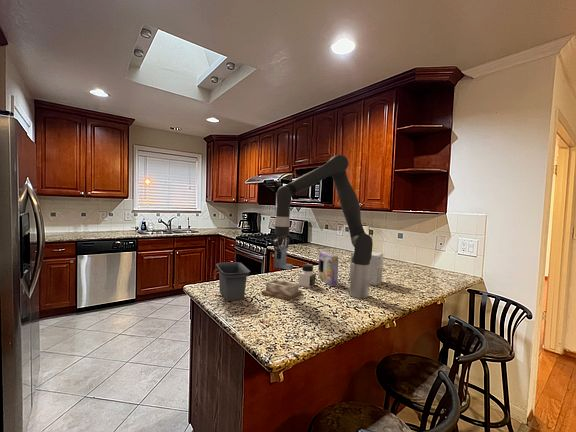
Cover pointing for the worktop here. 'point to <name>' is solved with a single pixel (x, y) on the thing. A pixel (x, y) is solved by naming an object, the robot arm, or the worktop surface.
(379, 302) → the worktop surface
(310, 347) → the worktop surface
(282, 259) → the bracket
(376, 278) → the supplement box
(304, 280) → the medicine bottle
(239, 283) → the storage bin
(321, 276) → the cake pan box
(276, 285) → the well block
